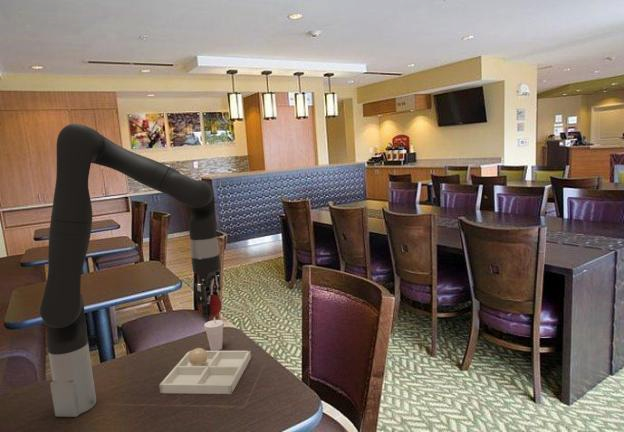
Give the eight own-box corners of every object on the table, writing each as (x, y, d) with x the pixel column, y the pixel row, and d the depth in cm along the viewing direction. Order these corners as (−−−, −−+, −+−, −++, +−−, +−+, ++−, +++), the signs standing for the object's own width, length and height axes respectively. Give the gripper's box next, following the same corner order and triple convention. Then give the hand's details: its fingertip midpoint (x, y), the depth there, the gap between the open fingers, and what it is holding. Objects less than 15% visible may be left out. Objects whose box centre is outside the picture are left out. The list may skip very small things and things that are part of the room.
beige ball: (204, 370, 129) (202, 353, 128) (186, 370, 130) (185, 353, 129) (211, 361, 135) (209, 344, 134) (194, 361, 135) (192, 344, 135)
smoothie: (215, 356, 139) (211, 316, 137) (202, 352, 143) (198, 312, 141) (230, 349, 144) (226, 309, 142) (217, 344, 148) (213, 306, 146)
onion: (217, 322, 116) (214, 294, 115) (197, 322, 117) (194, 294, 116) (225, 314, 122) (223, 287, 120) (206, 314, 123) (204, 287, 121)
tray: (231, 396, 116) (230, 385, 115) (160, 395, 118) (159, 384, 118) (251, 360, 136) (250, 350, 135) (189, 360, 138) (188, 350, 138)
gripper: (201, 248, 124) (207, 303, 126) (181, 261, 110) (188, 323, 112) (226, 247, 123) (231, 303, 126) (209, 260, 109) (215, 322, 111)
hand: (211, 312), depth 119 cm, fingers closed on onion, 6 cm apart
